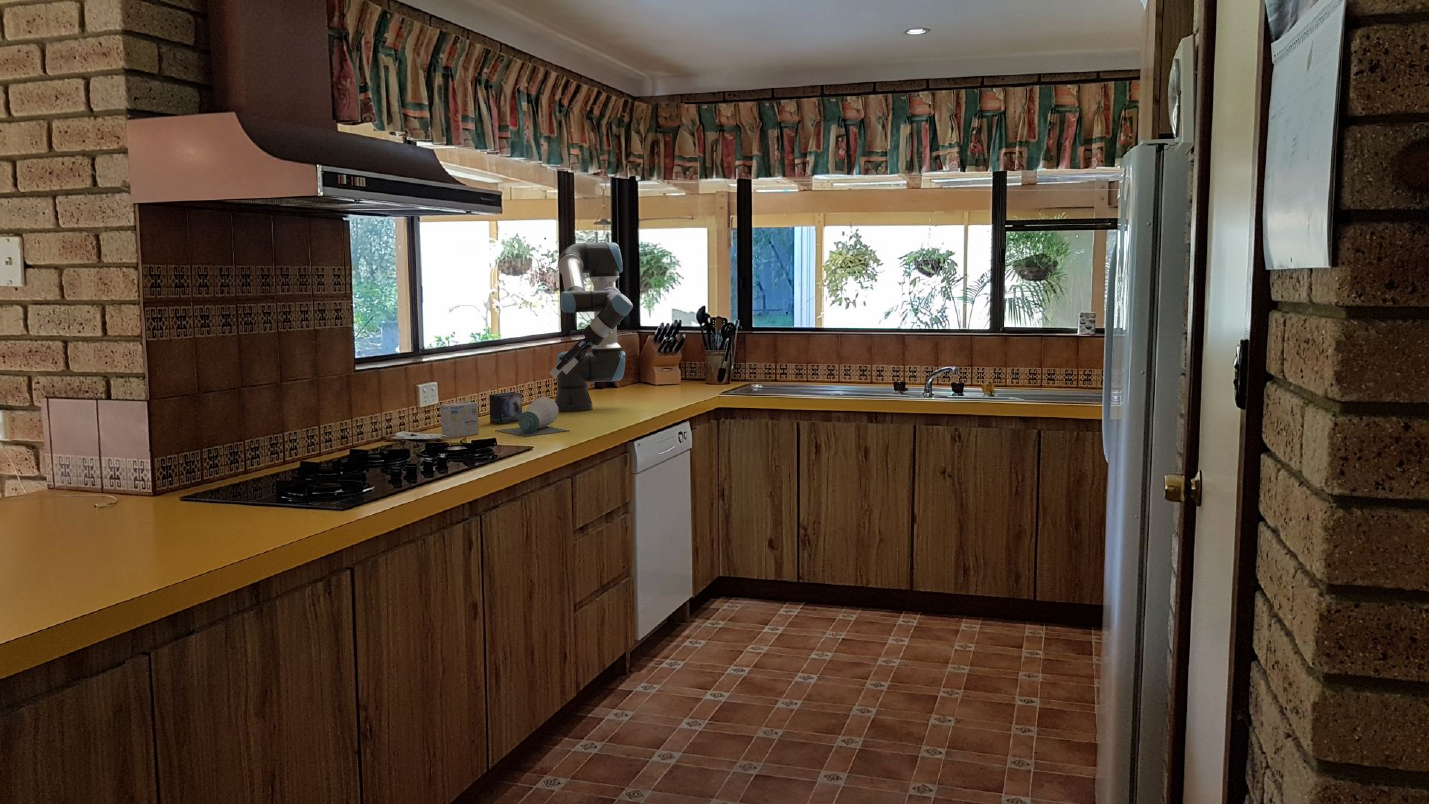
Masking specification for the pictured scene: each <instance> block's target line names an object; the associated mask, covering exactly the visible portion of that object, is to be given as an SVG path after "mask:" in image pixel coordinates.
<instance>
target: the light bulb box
mask: <svg viewBox="0 0 1429 804" xmlns="http://www.w3.org/2000/svg"><path fill="white" fill-rule="evenodd" d="M439 408H440V421H441V422H440V423H441V424H440V425H441V436H442V435H445V436H447V437H446V438H450V439H453V438H460V437H468V436H474V435H475V436H476V435H479V434H480V431H479V412H478V409H479V408H478V402H475V401H474V402H473V401H464V402H463V401H462V402H453V403H444V404H440V405H439Z"/></svg>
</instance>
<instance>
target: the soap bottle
mask: <svg viewBox="0 0 1429 804" xmlns="http://www.w3.org/2000/svg"><path fill="white" fill-rule="evenodd" d="M559 412H560V411H558V406H557V404H556V403H555V400H553V399H552V398H550V397H547V396H545V397H544V396H541V397H539V398H536V399H535V400H533V401H532V402H531V403H530V404H529V405H528V406H527V408H526V409H525V411H523V412H522V414H521V415H520V416H519V419H518V422H517V423H518V426H519V427H520V428H521V429H522V430H523V431H524V432H527V433H532V432H535V431H536V430H537V429H538V428H544V427H546V426H548V427H549V426H550V425H552V424H553V423H554V422H555V421H556V420H557V419H558V415H559Z"/></svg>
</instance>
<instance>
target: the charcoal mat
mask: <svg viewBox="0 0 1429 804" xmlns="http://www.w3.org/2000/svg"><path fill="white" fill-rule="evenodd" d="M494 431H495V432H498V433H504V434H510V435H513V436H514V435H515V436H519V437H524V438H525V437H527V438H528V437H534V436H543V435H551V434H552V435H553V434H559V433H567V432H570V430H569V429H565V428H558V427H553V426H549V425H548V426H546V427H544V428H538V429H537V430H536V431H535V432H532V433H527V432H524V431H523V430H522V429H521V428H520V426H519V427H518V426H517V427H510V428H503V429H495V430H494Z"/></svg>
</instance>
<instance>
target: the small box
mask: <svg viewBox="0 0 1429 804" xmlns="http://www.w3.org/2000/svg"><path fill="white" fill-rule="evenodd" d="M522 395H523V394H522V392H521V393H520V392H512V391H511V392H510V391H509V392H501V393H492V394H489V395H488V399H489V424H494V425H506V424H514V423H518V419H519V416H520V415H521V414H522V413H523V400H522V399H523V398H522Z"/></svg>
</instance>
